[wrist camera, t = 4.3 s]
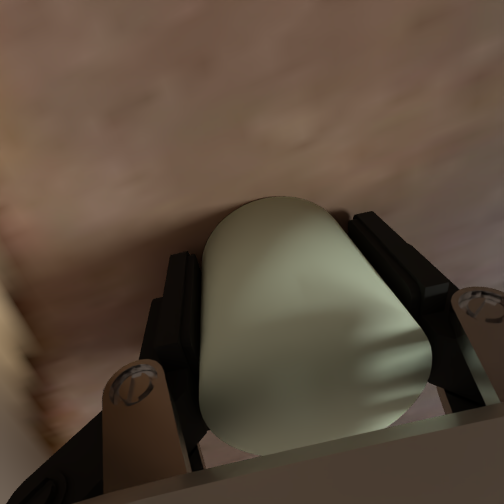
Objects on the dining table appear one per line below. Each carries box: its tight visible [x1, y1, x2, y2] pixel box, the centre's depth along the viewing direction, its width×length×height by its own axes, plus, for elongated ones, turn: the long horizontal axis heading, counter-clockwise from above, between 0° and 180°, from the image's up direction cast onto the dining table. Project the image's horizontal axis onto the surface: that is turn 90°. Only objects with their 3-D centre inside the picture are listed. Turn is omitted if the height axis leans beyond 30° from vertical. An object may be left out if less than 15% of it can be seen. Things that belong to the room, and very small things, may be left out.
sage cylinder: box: [199, 196, 432, 456], centre depth 9 cm, size 5×5×5 cm
